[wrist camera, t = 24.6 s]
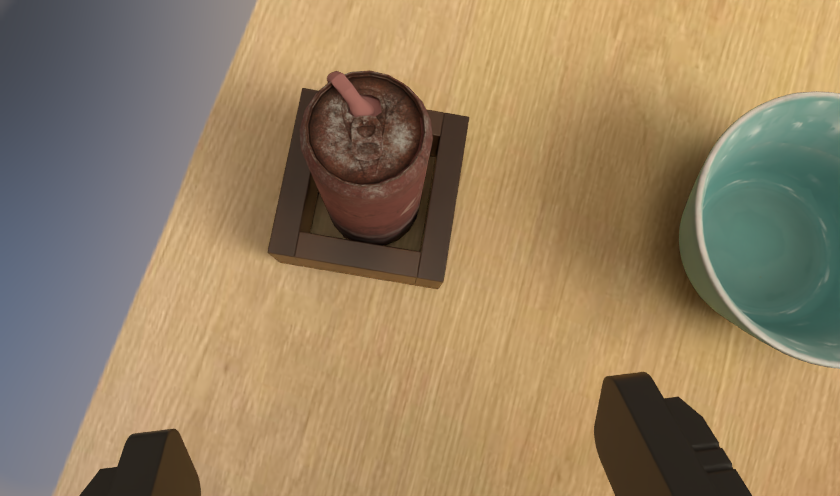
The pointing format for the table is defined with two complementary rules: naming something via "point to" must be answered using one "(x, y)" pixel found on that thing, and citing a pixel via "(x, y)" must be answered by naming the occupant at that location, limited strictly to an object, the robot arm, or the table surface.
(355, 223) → the can
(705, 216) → the bowl
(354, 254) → the socket block
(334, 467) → the table surface
